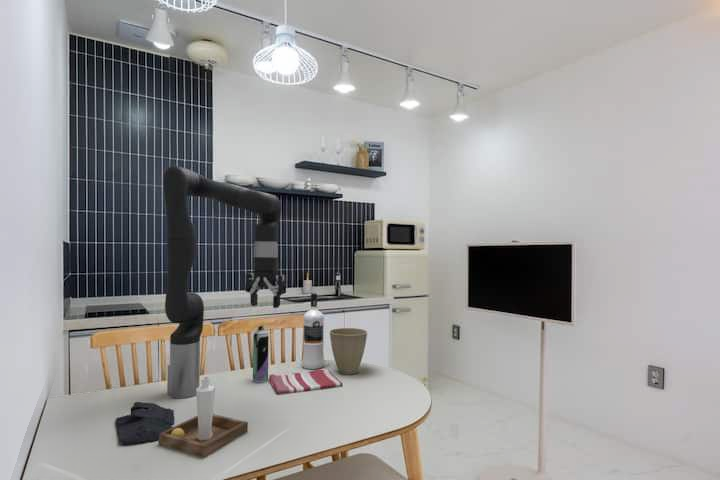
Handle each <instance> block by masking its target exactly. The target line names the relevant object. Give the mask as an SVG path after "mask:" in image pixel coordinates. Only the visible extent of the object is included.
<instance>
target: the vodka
mask: <svg viewBox="0 0 720 480" xmlns="http://www.w3.org/2000/svg"><path fill="white" fill-rule="evenodd" d="M324 321H325V315H324V313H322V312H321V311H320V310H319V309H318V293H315V292H314V293H310V309H309V310H307V312H305V313H304V314H303V353H302V355H303V356H302V360H301V366H302V367H303V368H304V369H306V370H320V369H322V368H324V366H325V363H326V362H325V357H324V356H325V355H324V343H325V342H324V326H325V325H324Z"/></svg>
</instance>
